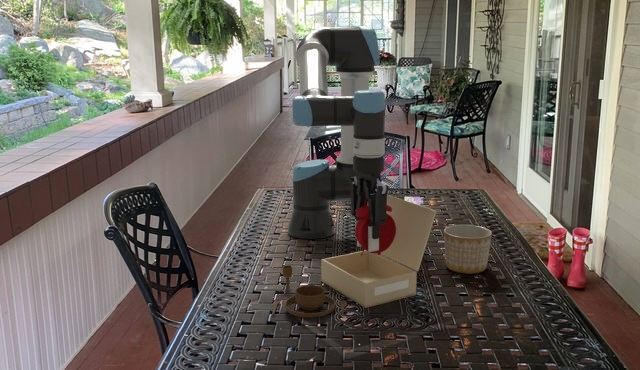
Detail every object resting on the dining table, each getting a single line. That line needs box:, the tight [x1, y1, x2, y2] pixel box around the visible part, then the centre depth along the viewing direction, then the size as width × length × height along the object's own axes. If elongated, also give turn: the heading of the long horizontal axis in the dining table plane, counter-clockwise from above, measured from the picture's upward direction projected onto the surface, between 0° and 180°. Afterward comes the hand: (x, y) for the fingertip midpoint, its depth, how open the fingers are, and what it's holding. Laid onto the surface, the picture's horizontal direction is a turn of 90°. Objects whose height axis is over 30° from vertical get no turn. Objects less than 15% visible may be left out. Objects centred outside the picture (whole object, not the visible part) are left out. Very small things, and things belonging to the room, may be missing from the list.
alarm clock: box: [354, 198, 396, 256], centre depth 159 cm, size 10×6×15 cm, turn 118°
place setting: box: [271, 264, 348, 319], centre depth 154 cm, size 18×20×6 cm
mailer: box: [320, 249, 418, 309], centre depth 161 cm, size 20×15×6 cm
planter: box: [443, 224, 493, 275], centre depth 175 cm, size 13×13×10 cm
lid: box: [381, 194, 437, 272], centre depth 164 cm, size 20×15×2 cm
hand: (367, 247), depth 159 cm, fingers closed on alarm clock, 4 cm apart
